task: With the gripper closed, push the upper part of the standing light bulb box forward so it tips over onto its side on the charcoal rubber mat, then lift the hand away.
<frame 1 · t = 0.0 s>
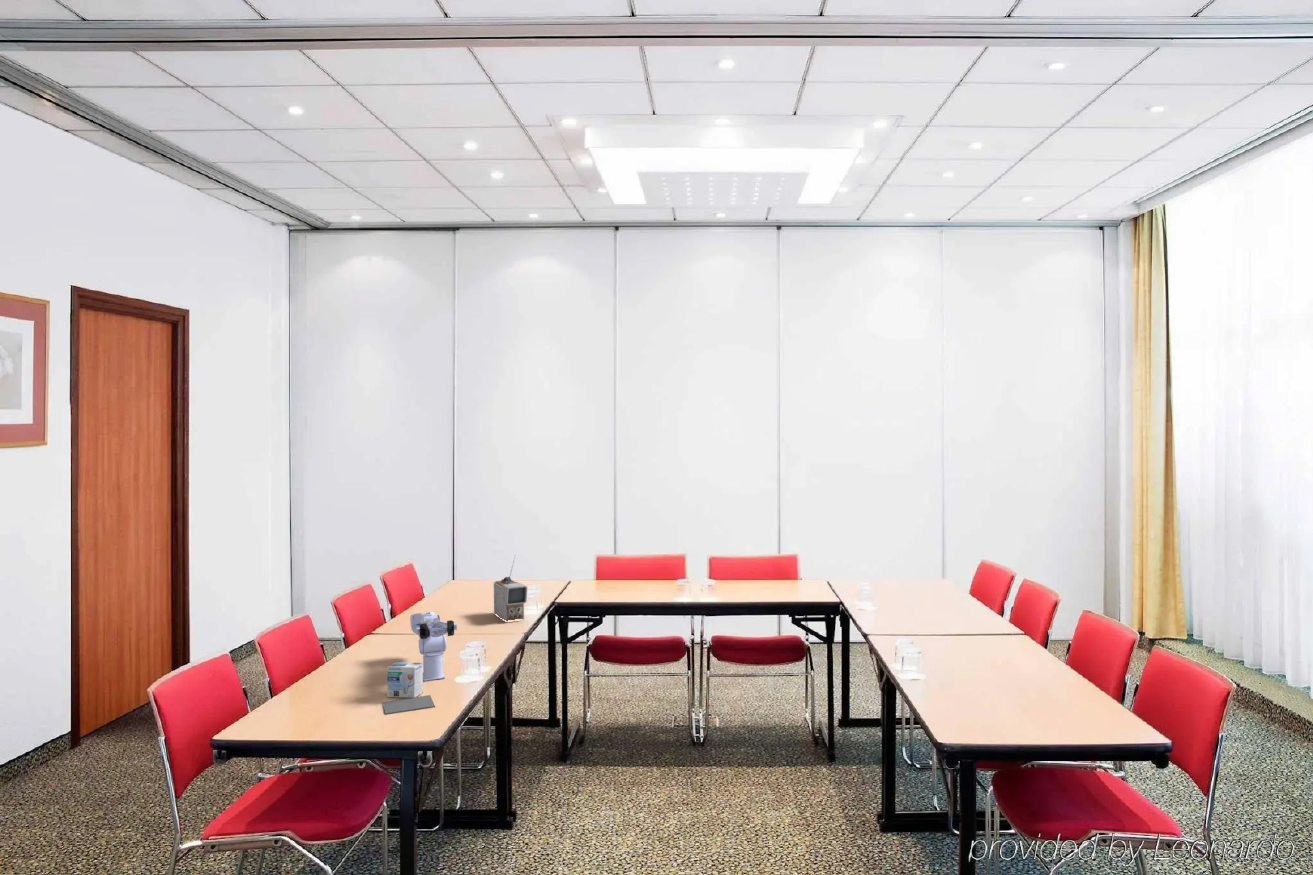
hand: (439, 632, 278), 22 cm above the table, tool horizontal, fingers open, 7 cm apart
portable television: (511, 618, 387), on the table
light bulb box: (405, 695, 276), on the table, touching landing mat
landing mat: (408, 705, 266), on the table
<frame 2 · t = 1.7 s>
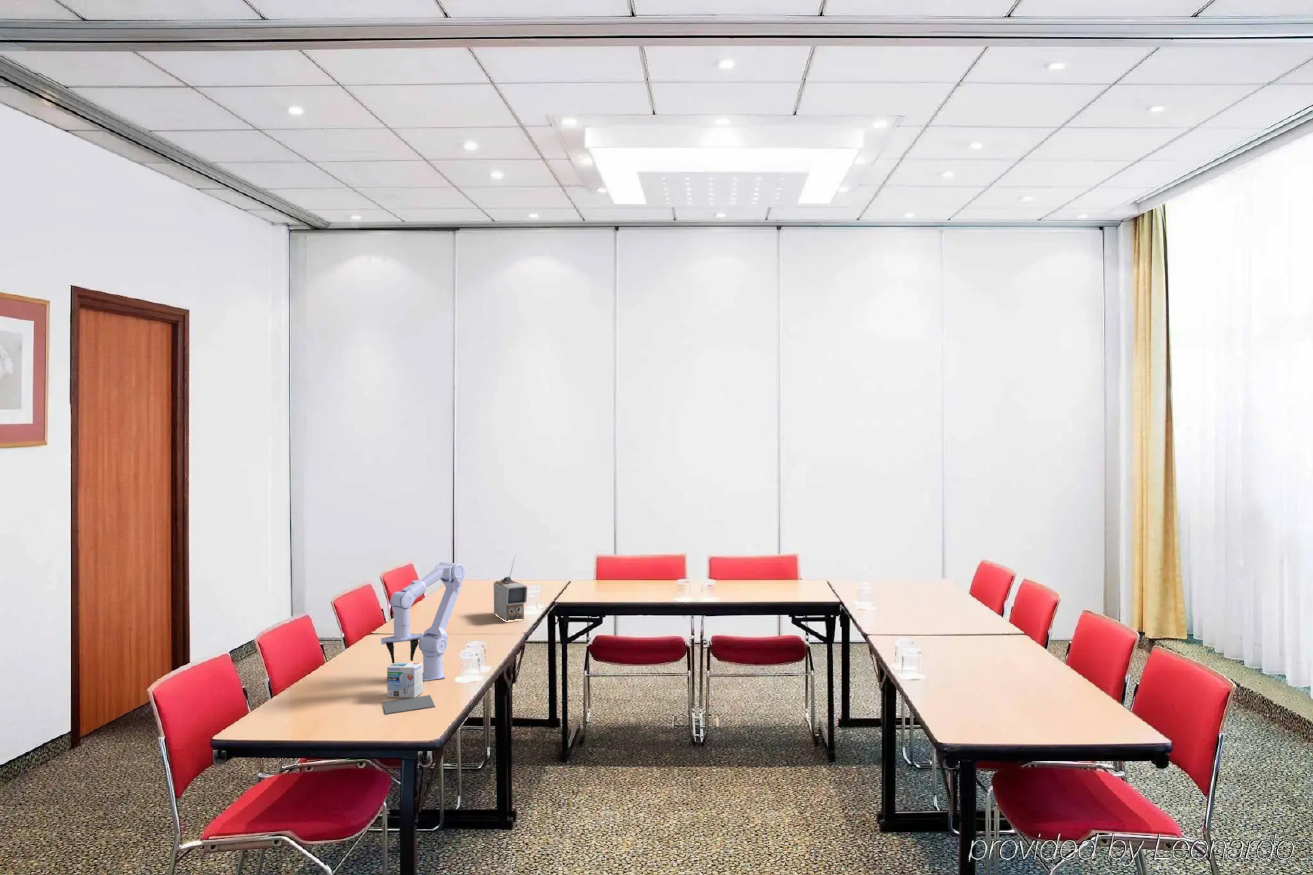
hand: (402, 661, 283), 10 cm above the table, tool pointing down, fingers open, 6 cm apart
nothing on the table moved.
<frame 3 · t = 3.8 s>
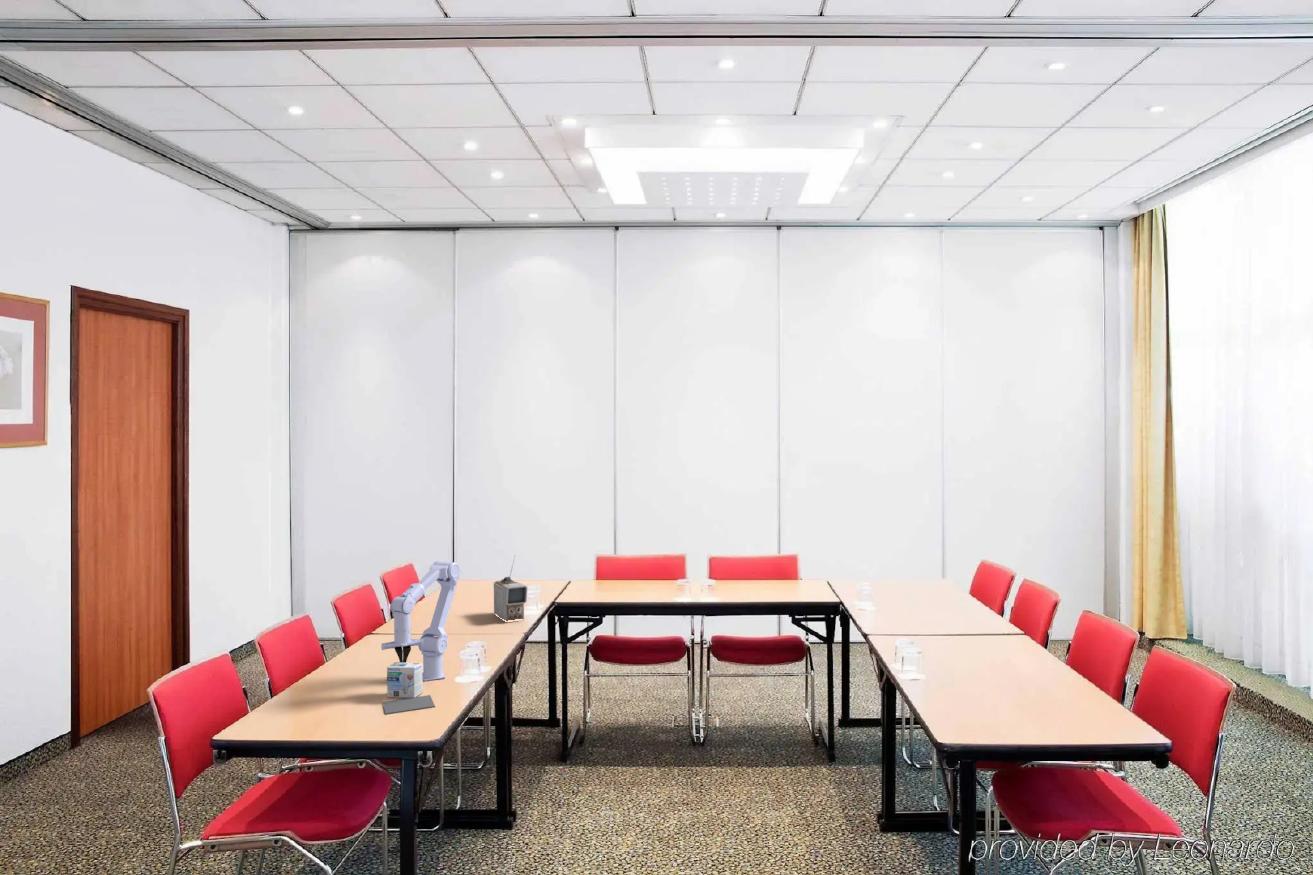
hand: (402, 666, 282), 8 cm above the table, tool pointing down, fingers closed
light bulb box: (405, 695, 276), on the table, touching gripper, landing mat
everything else where it was.
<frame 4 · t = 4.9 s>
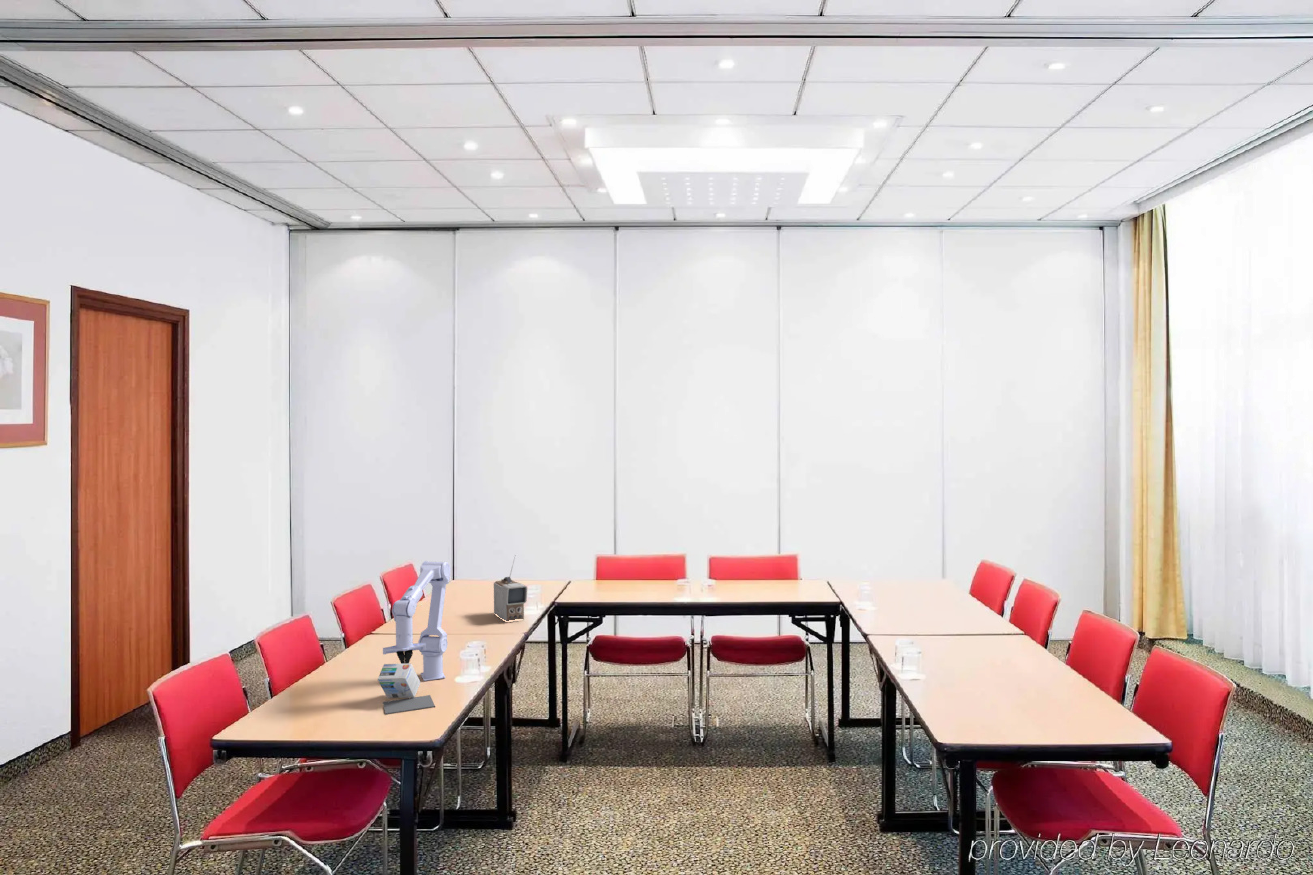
hand: (404, 671, 276), 8 cm above the table, tool pointing down, fingers closed
light bulb box: (404, 690, 275), point 2 cm above the table, touching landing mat
everything else where it was.
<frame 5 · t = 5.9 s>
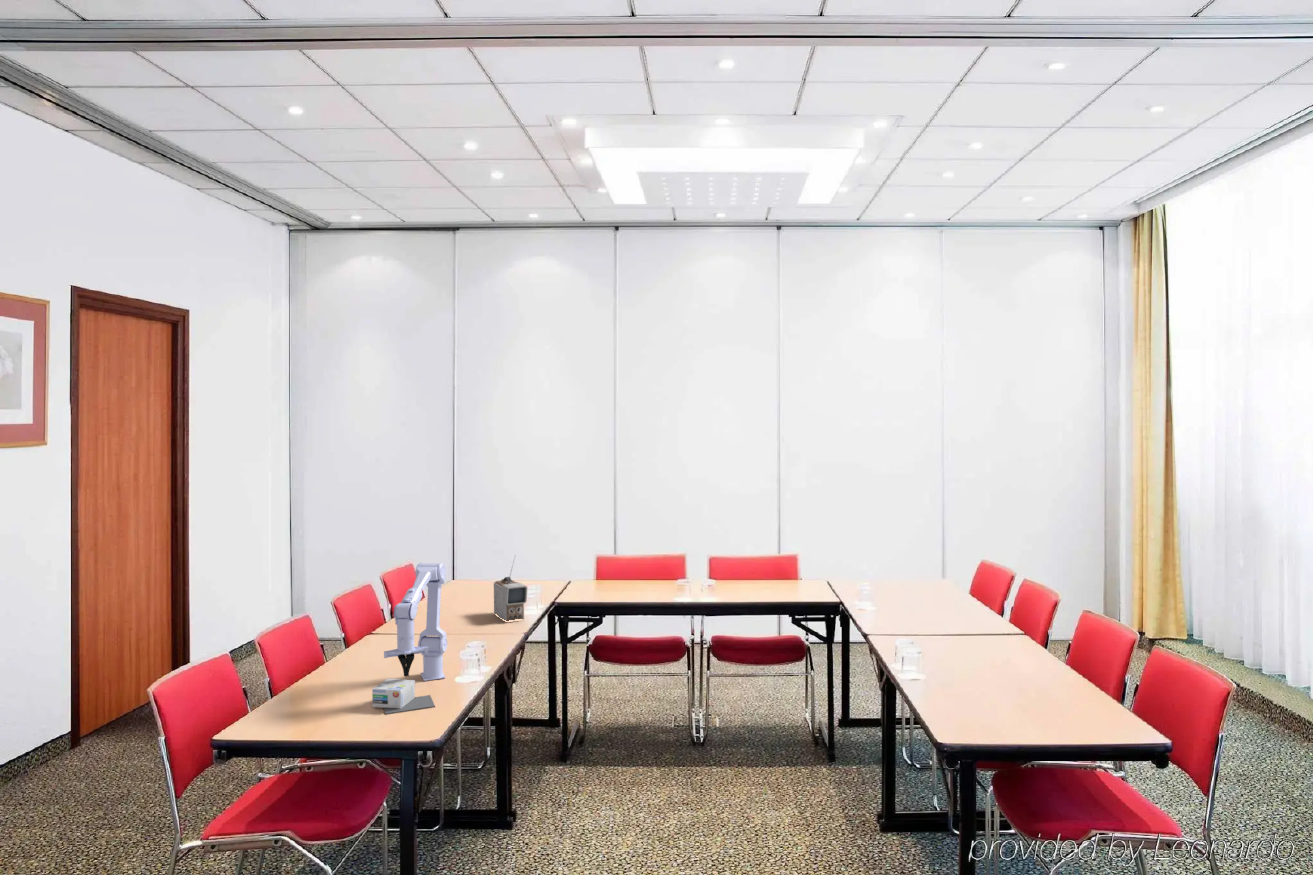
hand: (406, 675, 272), 8 cm above the table, tool pointing down, fingers closed
light bulb box: (401, 687, 273), point 4 cm above the table, touching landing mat
everything else where it was.
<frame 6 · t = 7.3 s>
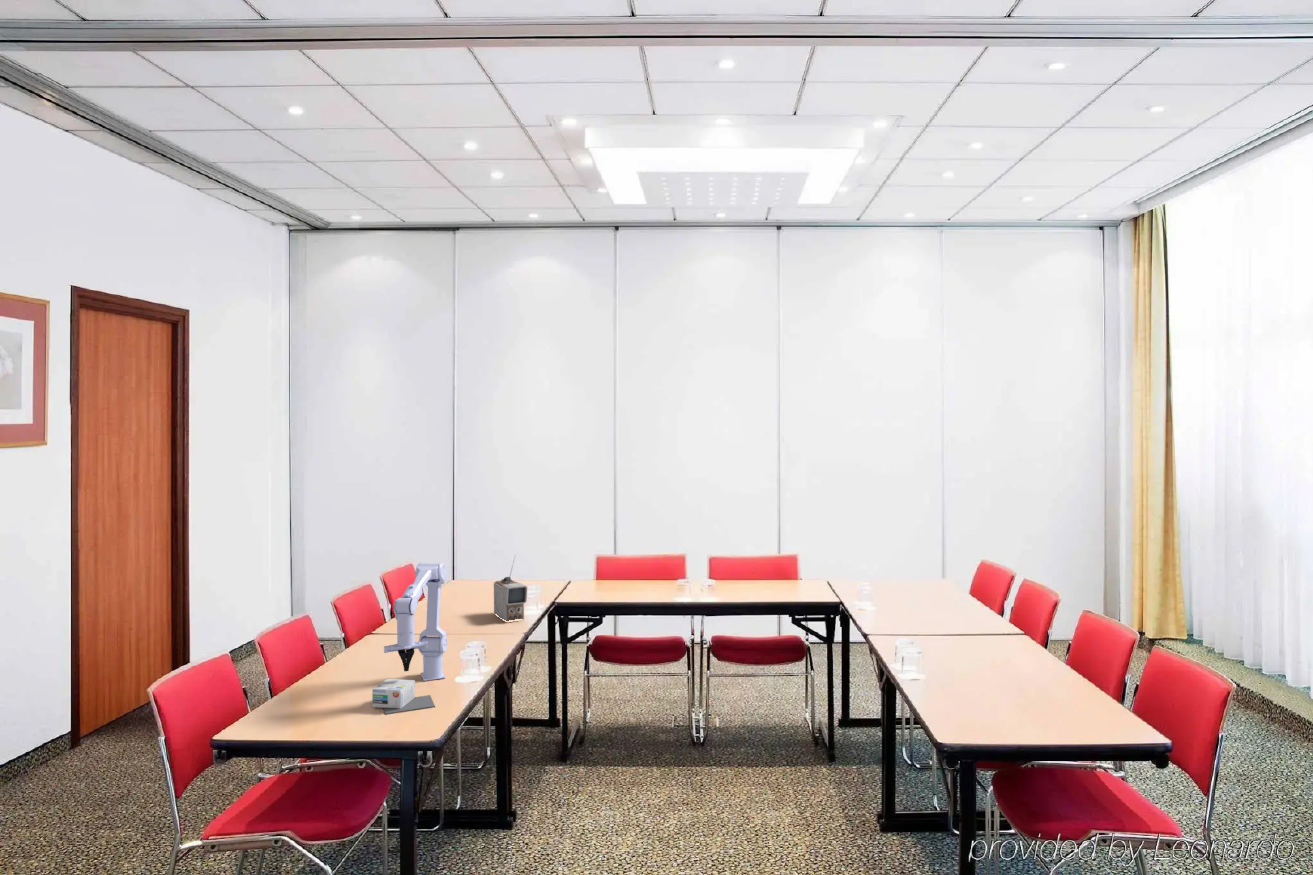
hand: (406, 670, 271), 10 cm above the table, tool pointing down, fingers closed
nothing on the table moved.
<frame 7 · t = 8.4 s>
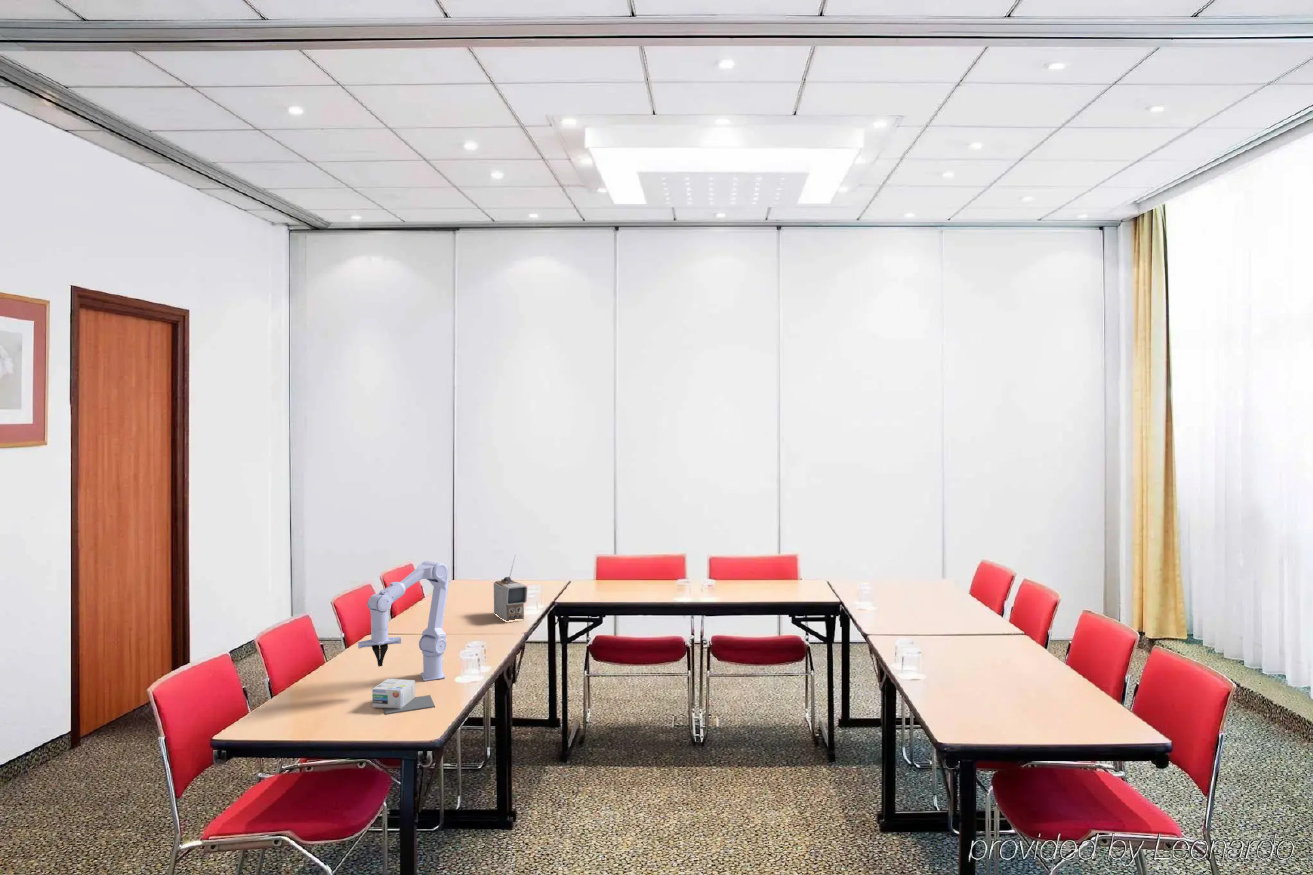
hand: (380, 665, 277), 10 cm above the table, tool pointing down, fingers closed
nothing on the table moved.
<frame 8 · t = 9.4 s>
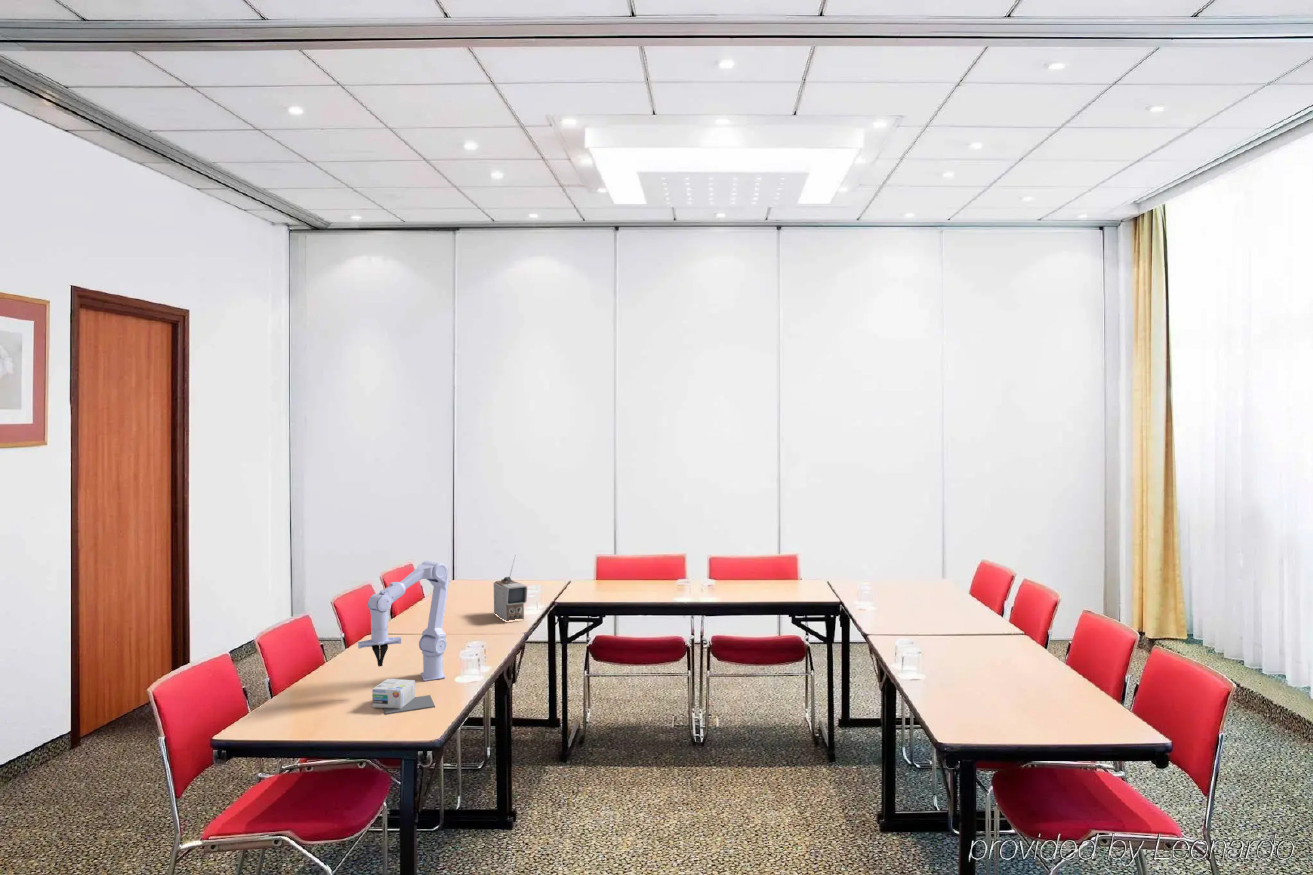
hand: (380, 665, 277), 10 cm above the table, tool pointing down, fingers closed
nothing on the table moved.
at the end: light bulb box tilted 91°; light bulb box touching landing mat; light bulb box inside the target area (5.9 cm from its centre), point 3.8 cm above the table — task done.
